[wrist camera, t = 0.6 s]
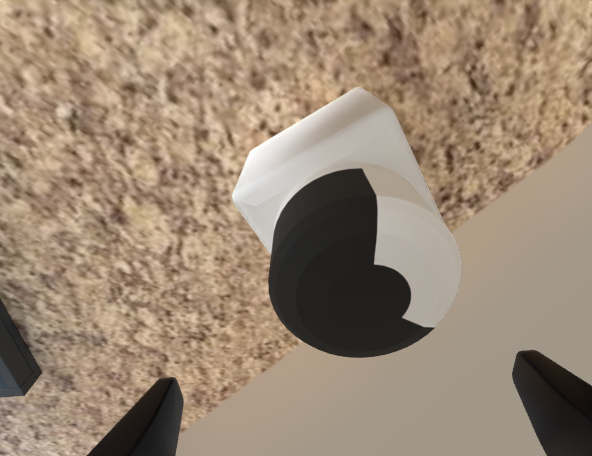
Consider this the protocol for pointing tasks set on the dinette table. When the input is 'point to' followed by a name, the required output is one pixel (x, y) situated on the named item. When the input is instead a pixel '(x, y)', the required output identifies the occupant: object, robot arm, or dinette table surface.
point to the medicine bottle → (350, 230)
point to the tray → (14, 360)
